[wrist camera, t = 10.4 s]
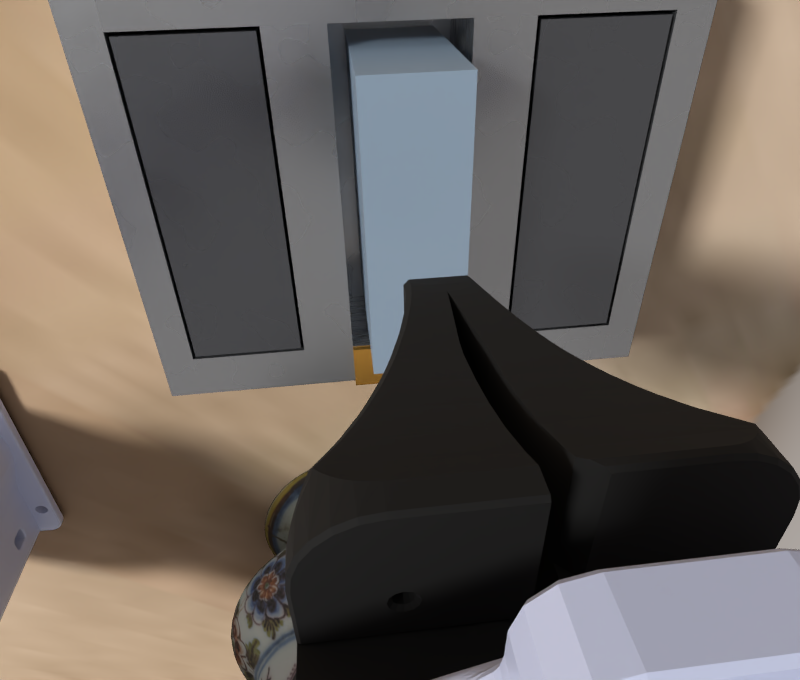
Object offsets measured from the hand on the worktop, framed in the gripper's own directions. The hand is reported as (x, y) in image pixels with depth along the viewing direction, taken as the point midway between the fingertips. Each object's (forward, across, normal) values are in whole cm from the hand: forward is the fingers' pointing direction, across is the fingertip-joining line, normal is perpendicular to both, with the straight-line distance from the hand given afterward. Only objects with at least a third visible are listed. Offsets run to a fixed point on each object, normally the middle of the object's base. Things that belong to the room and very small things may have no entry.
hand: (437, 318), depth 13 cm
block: (+9, 0, 0) cm, 9 cm away
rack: (+10, 0, 0) cm, 10 cm away
